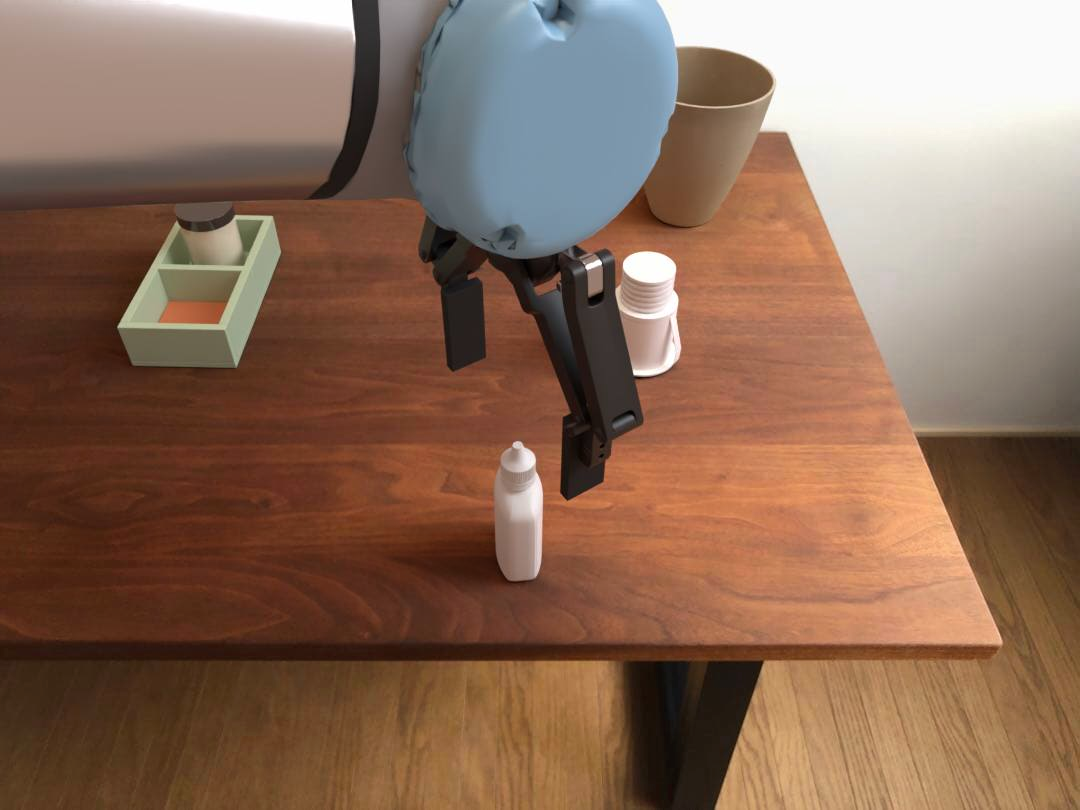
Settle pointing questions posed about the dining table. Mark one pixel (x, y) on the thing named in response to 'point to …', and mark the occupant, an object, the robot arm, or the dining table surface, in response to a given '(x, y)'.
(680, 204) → the plant pot
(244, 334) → the green divided tray
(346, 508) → the dining table surface
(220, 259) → the spice jar
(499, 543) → the eye dropper bottle
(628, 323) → the downlight
